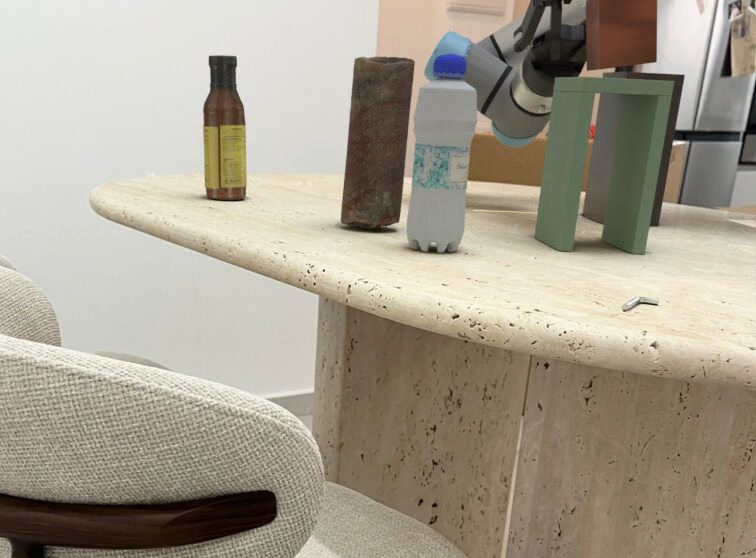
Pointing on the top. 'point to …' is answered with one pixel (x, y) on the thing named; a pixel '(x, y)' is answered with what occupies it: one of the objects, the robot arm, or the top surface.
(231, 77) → the sauce bottle
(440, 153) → the bottle
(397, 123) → the rusty brown cylinder
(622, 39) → the brown box
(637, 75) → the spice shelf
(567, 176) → the green arch
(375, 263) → the top surface
